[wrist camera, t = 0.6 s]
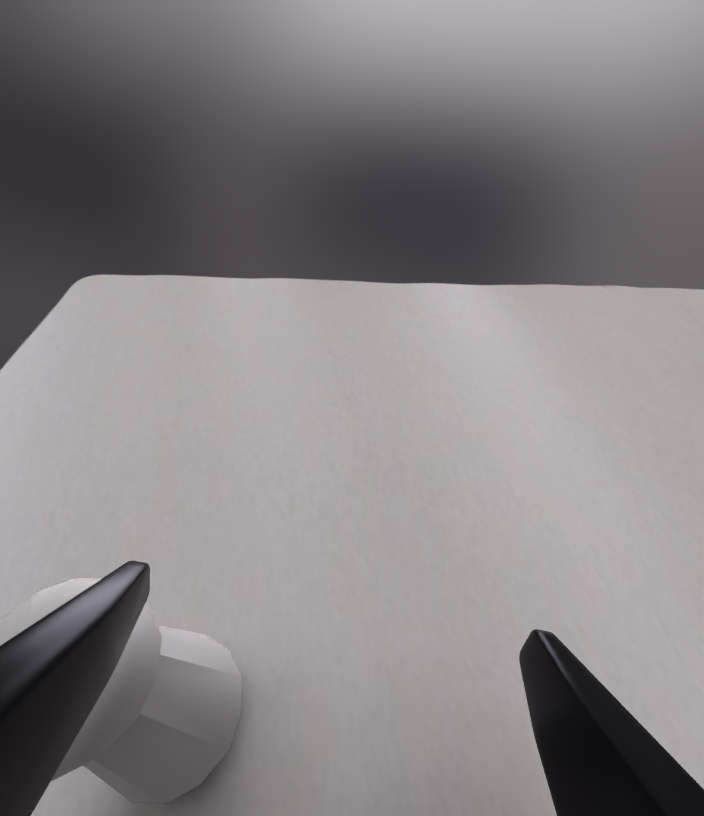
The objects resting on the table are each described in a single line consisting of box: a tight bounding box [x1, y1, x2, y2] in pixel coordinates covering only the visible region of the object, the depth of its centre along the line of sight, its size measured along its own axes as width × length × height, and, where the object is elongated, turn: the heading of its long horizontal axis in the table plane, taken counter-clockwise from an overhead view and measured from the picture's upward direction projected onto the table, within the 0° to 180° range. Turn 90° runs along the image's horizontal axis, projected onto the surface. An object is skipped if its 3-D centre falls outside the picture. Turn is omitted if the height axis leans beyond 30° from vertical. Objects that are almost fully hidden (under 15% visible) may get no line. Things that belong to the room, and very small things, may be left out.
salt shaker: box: [0, 578, 242, 804], centre depth 14 cm, size 6×6×13 cm
